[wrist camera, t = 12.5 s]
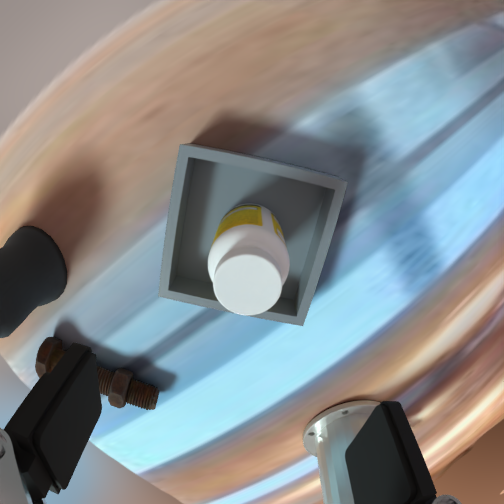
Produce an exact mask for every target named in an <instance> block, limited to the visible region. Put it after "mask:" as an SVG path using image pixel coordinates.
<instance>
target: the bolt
mask: <svg viewBox="0 0 504 504" xmlns="http://www.w3.org/2000/svg"><path fill="white" fill-rule="evenodd" d="M65 353H66V351H64V350H62V340H59V339H57V338H55V337H48V338H46V339H45V340H44V341H43V343H42V344H41V346H40V348H39V350H38V353H37V358H36V365H35V368H36V372H37V374H38V376H39V378H41V376H42V375H43V374H44V373H47V372H49V373H50V372H51V371H52V370H53V368H54V367H55V366H56V364H57V363H58V362H59V360H60V359H61V358H62V356H63V355H64V354H65ZM97 372H98V381H99V389H100V393H101V394H102V393H103V395H106V396H108V401H109V403H110V405H112V406H114V407H117V408H122V407H124V406H125V405H126V402H127V404H128V403H129V404H130V405H131V404H132V405H135V406H138V407H141V408H144V409H145V408H146V410H148V409H149V410H151V409H152V410H154V409H155V407H156V403H157V399H158V395H159V390H158V388H157V387H156V388H155V386H152V385H151V386H150V384H148V385H147V383H146V384H145V383H142V382H139V381H136V380H134V379H133V373H132V372H131V371H129V370H126V369H123V368H119V369H117V370H116V372H112V371H111V372H110V370H107V369H106V370H105V368H102V367H100V366H97Z"/></svg>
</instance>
